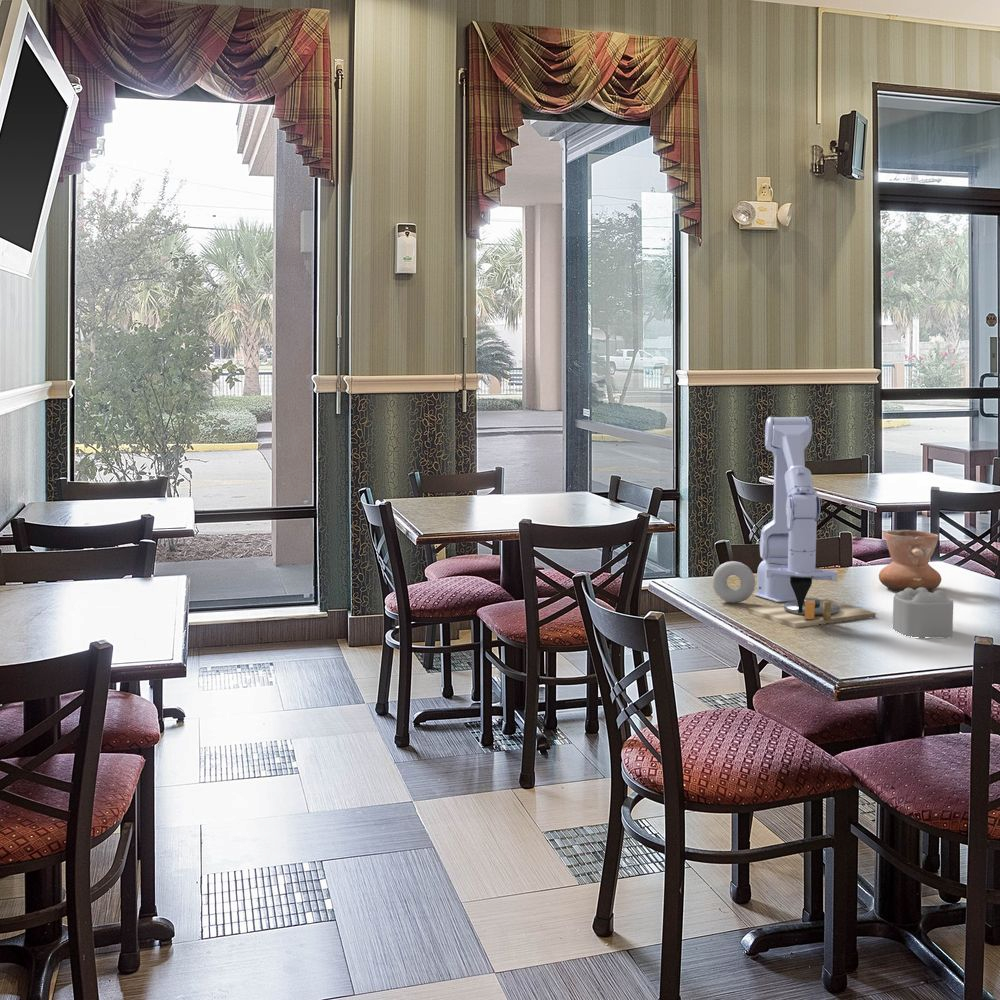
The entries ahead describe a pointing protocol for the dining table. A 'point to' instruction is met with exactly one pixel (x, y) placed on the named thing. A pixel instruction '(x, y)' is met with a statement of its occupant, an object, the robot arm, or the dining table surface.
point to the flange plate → (810, 607)
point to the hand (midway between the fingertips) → (800, 612)
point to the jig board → (799, 620)
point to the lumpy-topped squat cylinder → (922, 613)
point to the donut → (740, 571)
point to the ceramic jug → (910, 561)
